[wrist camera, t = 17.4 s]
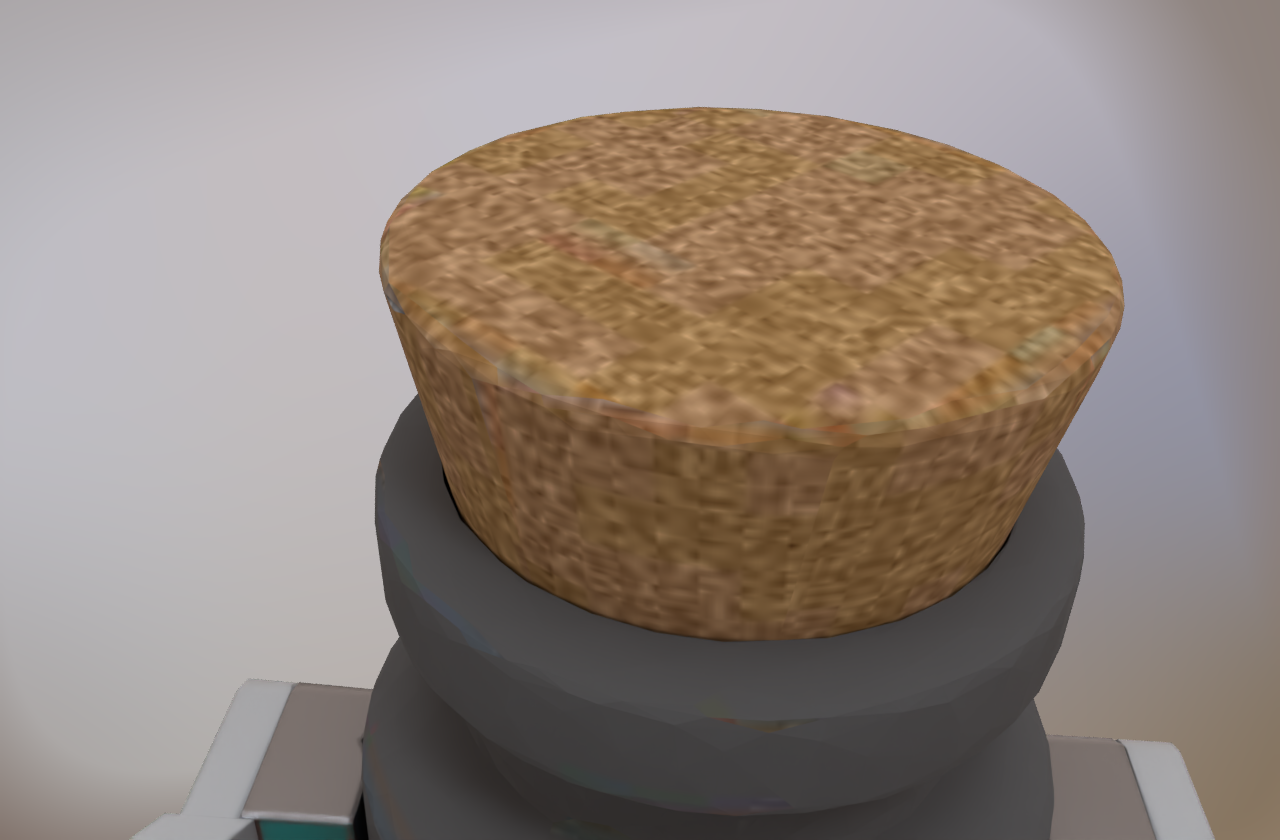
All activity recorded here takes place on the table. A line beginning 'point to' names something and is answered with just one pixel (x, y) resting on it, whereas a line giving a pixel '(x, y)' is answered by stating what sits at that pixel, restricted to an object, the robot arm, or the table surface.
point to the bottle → (728, 485)
